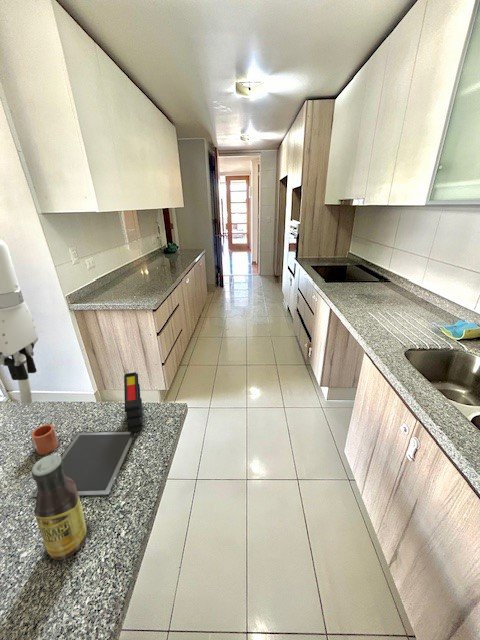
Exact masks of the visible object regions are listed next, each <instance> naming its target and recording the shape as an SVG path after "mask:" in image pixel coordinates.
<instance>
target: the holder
mask: <svg viewBox="0 0 480 640" xmlns="http://www.w3.org/2000/svg"><path fill="white" fill-rule="evenodd" d="M31 441H32V443H33V445H34V449H35V452H36V453H37V454H38V455H47V454H49V453H52V452H53V451H54V450H56V449H57V447H58V446H59V440H58V435H57V433H56V430H55V426H54V425H52V424H50V423H49V424H48V423H47V424H44V425H40V426H38V427H36V428H35V429H34V430H33V431H32V432H31Z"/></svg>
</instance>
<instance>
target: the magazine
mask: <svg viewBox="0 0 480 640" xmlns="http://www.w3.org/2000/svg"><path fill="white" fill-rule="evenodd" d="M123 389H124V390H123V391H124V392H123V393H124V396H123V397H124V412H125V413H126V421H127V422H128V423H127V424H128V426H127V429H128V430H130V431H129V432H140V431H142V429H143V426H144V422H143V419H144V418H143V399H142V397H141V385H140V383H139V373H137V372H135V371H134V372H128V373H127V372H126V373H125V374H124V375H123Z"/></svg>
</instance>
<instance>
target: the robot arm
mask: <svg viewBox="0 0 480 640" xmlns="http://www.w3.org/2000/svg"><path fill="white" fill-rule="evenodd" d="M38 341H39V336H38V331H37V326H36V324H35V320H34V318H33V316H32V313H31V311H30V309H29V307H28V305H27V303H26V301H25V300H24V297H23V293H22V290H21V287H20V282H19V280H18V277H17V273H16V270H15V267H14V262H13V260H12V257H11V253H10V249H9V247H8V244H7V243H6V242H5V241H4V240H3V239H1V238H0V365H3V367H7V369H8V372H9V374H10V378H11V380H13V381H18V380H26V379H28V376H29V374H35V373H37V371H38V370H37V367H36V363H35V361H34V355H35V352H34V348H35V345H36V343H37V342H38ZM18 354H24V355H25V356H26V361H27V369H28V375H27V372H26V369H25V366H24V364H23V363H21V362H20V359H19V355H18Z"/></svg>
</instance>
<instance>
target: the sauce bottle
mask: <svg viewBox="0 0 480 640" xmlns="http://www.w3.org/2000/svg"><path fill="white" fill-rule="evenodd" d="M31 477H32V480H33V481H35V484H36V489H37V490H38V492H37V497H35V506H34V516H35V520H36V523H37V525H38V528H39V532H40V535H41V537H42V540H43V544H44V548H45V549H46V553H48V555H49V556H50V558H51V559H53V560H56V561H62V560H63V559H66V558H67V559H68V557H71V556H72V555H74V554H75V553H76V552H77V551H78V550H79V549H80V548H81V547H82V546H83V544H84V542H85V540H86V537H87V523H86V519H85V515H84V509H83V506H82V502H81V498H80V496H79V494H78V492H77V488H76V484H75V482H74V481H73V480H72V479H70V478H68V477H66V475H65V474H64V471H63V461H62V458H61V455H59V454H49V455H46V456H44V457H42V458H40V459H39V460H38V461H36V462H35V463H34V464H33V466H32V468H31Z"/></svg>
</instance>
